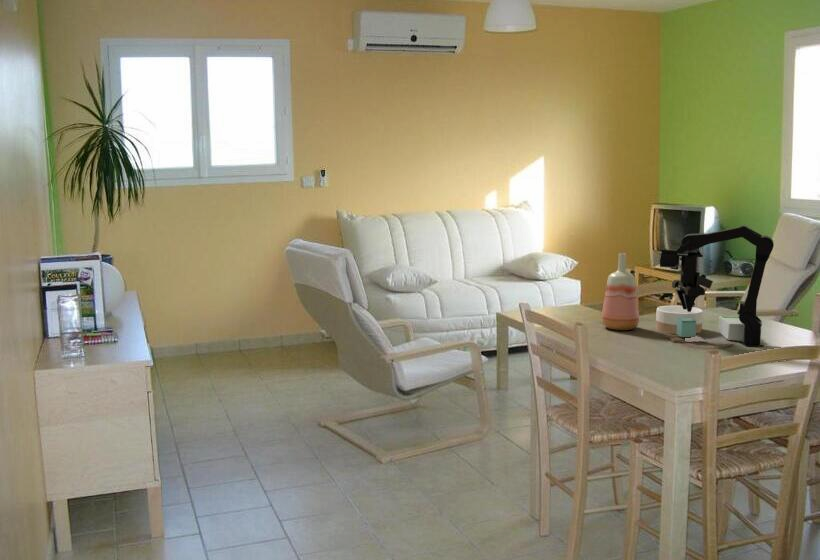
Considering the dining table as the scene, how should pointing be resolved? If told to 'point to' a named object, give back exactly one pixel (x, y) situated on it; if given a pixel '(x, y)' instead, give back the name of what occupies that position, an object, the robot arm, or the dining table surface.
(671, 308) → the bowl
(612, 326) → the vase
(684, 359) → the dining table surface
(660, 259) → the robot arm
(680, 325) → the teal tilted box
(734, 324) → the skincare box
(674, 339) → the post block
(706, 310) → the dining table surface
